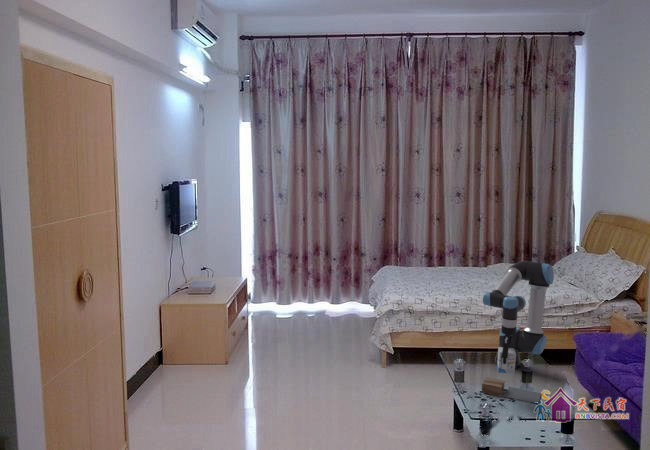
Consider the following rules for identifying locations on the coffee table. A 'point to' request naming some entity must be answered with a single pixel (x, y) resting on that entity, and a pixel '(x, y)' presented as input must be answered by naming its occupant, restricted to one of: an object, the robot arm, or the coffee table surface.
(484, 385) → the walnut step
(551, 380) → the coffee table surface
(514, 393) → the mat
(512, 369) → the ink box
